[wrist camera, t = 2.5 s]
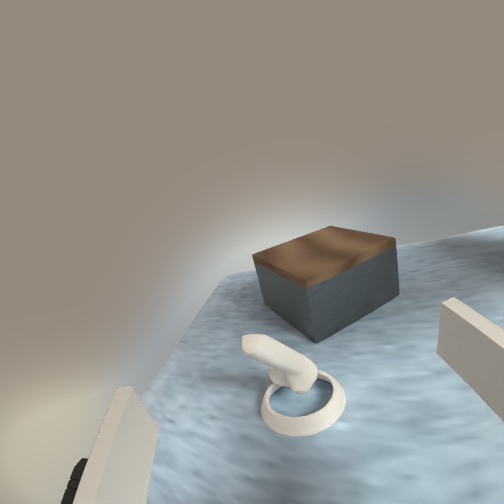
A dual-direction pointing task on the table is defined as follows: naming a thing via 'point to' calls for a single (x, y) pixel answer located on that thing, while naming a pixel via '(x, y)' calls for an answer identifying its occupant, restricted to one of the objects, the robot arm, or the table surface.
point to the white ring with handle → (292, 385)
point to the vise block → (328, 278)
